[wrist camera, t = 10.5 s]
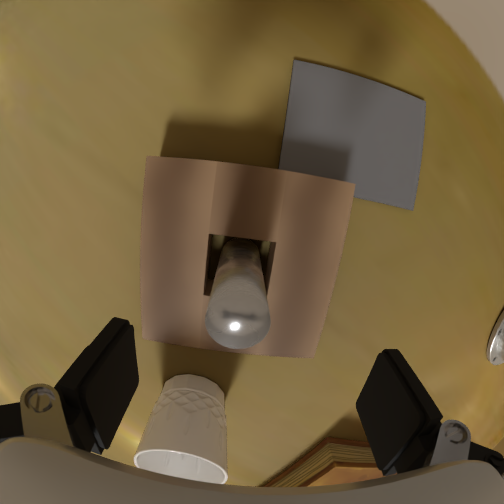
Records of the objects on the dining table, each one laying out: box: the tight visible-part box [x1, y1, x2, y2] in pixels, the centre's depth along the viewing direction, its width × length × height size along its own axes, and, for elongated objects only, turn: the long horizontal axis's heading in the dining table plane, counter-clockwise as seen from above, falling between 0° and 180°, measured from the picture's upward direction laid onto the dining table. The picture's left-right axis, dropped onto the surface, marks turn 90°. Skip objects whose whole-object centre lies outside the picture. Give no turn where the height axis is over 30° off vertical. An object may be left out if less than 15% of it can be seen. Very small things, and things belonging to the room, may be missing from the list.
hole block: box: [140, 156, 356, 358], centre depth 21 cm, size 14×14×3 cm
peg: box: [205, 237, 271, 349], centre depth 17 cm, size 3×3×10 cm
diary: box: [263, 437, 397, 487], centre depth 32 cm, size 23×19×6 cm
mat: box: [278, 60, 426, 211], centre depth 19 cm, size 12×10×1 cm
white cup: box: [134, 374, 228, 484], centre depth 22 cm, size 8×8×10 cm
